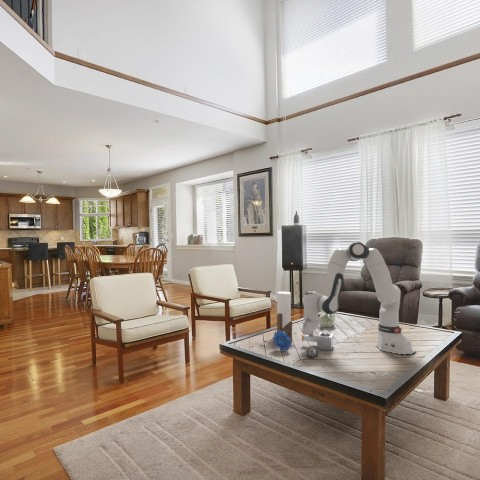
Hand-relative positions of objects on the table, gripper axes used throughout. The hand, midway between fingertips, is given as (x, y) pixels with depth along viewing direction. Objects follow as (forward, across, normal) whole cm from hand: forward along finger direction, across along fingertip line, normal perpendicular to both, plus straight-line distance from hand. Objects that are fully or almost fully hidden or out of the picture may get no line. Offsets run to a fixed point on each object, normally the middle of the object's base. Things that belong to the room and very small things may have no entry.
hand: (311, 338), depth 223 cm
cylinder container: (+4, +12, +25) cm, 28 cm away
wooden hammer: (+4, -3, +18) cm, 19 cm away
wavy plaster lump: (+6, +52, +7) cm, 53 cm away
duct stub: (+4, -20, -8) cm, 22 cm away
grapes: (+4, -20, +11) cm, 24 cm away
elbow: (+3, -2, -5) cm, 6 cm away
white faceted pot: (+4, -1, -10) cm, 11 cm away
